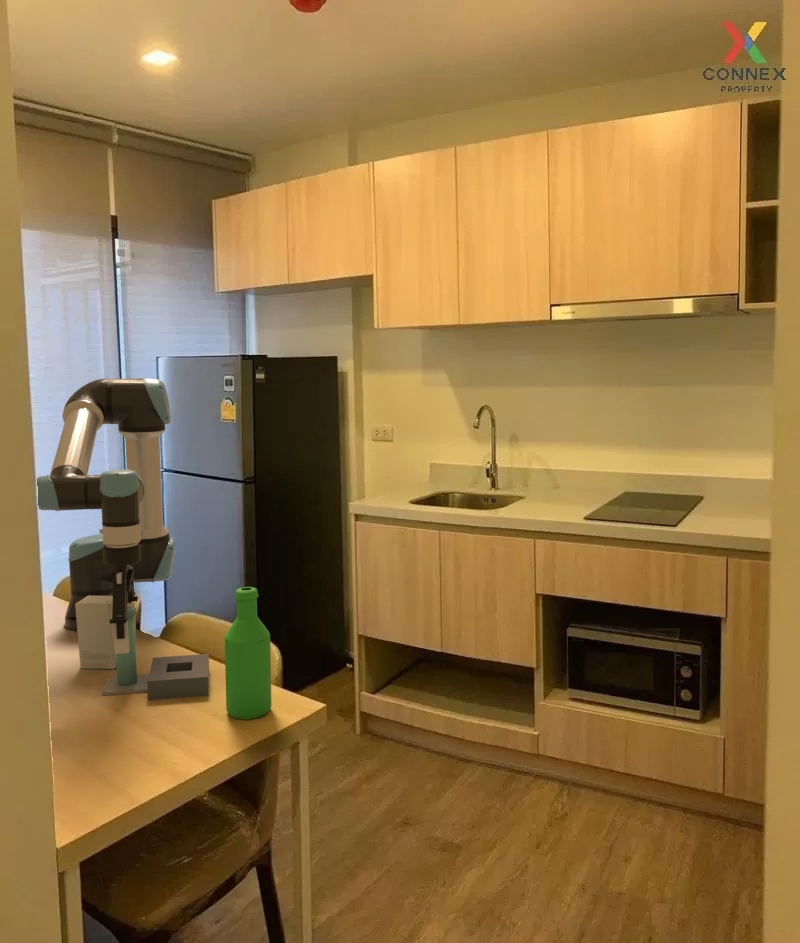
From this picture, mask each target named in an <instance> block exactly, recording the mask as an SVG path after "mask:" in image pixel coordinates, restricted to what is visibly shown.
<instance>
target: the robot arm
mask: <svg viewBox="0 0 800 943" xmlns="http://www.w3.org/2000/svg"><path fill="white" fill-rule="evenodd" d="M62 421H63V423H64V424H63V428H62V432H61V435H60V438H59V441H58V442H59V443H58V445H57V449H56V452H55V456H54V460H53V462H52V463H53V464H52V467H51V470H50V474H46V475H42V476H41V475H40V476H38V477H37V478H36V479H37V486H38V506H39V508H38V509H39V510H40V511H56V512H59V511H77V510H79V511H81V510H82V511H83V510H101V526H102V527H101V528H100V529H99V530H98V532H99V533H96V534H92V535H91V534H90V535H87V536H84V537H81V538H78V539H76V540H74V541H72V542H71V543H70V545H69V548H68V551H69V552H68V559H67V560H68V562H69V565H68V566H69V567H68V568H69V582H70V585H69V587H70V599H69V602H68V606H67V608H66V612H65V616H64V626H65V627H66V628H67V629H68V630H71V631H77V620H76V608H75V604H76V603H77V602H79V601H81V600H82V599H84V598H85V597H87V596H113V607H112V619H110V624H114V647H115V654H119V653H129V637H128V621H127V607H135V608H136V606H135V605H136V602H139V596H136V591H135V583H155V582H162V581H163V582H164V581H167V580H169V579H170V578H171V576H172V571H173V564H174V556H175V546H176V545H175V544H176V543H175V542H176V539H175V537H172V536H170V530H169V529H168V528H167V527H166V526H164V524H163V523H164V521H163V519H164V517H163V516H164V515H163V497H162V496H163V495H162V471H161V470H162V468H161V447H160V446H161V443H160V440H161V439H160V437H161V435H163V433H165V432H166V425H169V424H171V421H172V418H171V408H170V402H169V396H168V392H167V389H166V385H165V383H164V381H162V380H161V379H158V378H157V379H156V378H146V377H144V378H143V377H140V378H139V377H138V378H100V379H95V380H92V381H90V382H88V383H86V384H84V385H83V386H81V387H80V388H78V389H77V390H76V391H74V392H73V394H71V396H70V397H69V398H68V399H67V402H65V405H64V407H63V410H62ZM103 425H117V426H118V432H119V433H120V435H122V436H123V438H124V442H125V447H124V448H125V464H126V469H109V470H105V471H103V472H101V474H89V469H90V464H91V459H92V454H93V452H94V450H93V449H94V446H95V442H96V436H97V432H98V431H99V430H100V429H101V428H102V426H103ZM120 615H121V617H117V616H120ZM136 629H137V628H136V624H135V633H136Z"/></svg>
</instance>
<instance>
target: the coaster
mask: <svg viewBox="0 0 800 943" xmlns="http://www.w3.org/2000/svg"><path fill="white" fill-rule="evenodd" d="M148 677H149V673H139V674H138V673H137V683H135V684H133V685H130V686H120V685H118V684H117V675H113V676H107V679H106V680H105V684H104V686H103V690H102V692H101V695H102V696H110V695H124V694H138V693H146V692H147V693H148V683H147V681H148Z"/></svg>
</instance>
